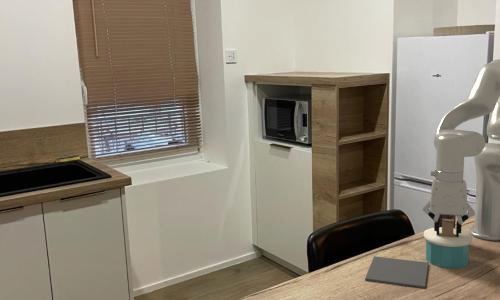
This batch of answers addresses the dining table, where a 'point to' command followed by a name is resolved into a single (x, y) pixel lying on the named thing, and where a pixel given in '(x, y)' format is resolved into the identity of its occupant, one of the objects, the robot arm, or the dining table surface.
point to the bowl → (447, 255)
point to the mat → (398, 272)
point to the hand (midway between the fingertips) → (447, 233)
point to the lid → (447, 235)
